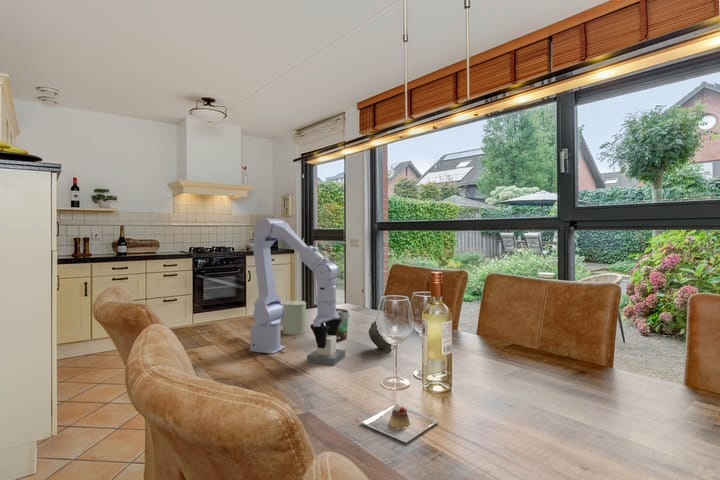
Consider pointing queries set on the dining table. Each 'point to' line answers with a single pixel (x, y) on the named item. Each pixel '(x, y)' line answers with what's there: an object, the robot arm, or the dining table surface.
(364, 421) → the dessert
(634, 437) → the dining table surface
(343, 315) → the food container
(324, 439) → the dining table surface
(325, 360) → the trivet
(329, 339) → the block
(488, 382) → the dining table surface
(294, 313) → the can
